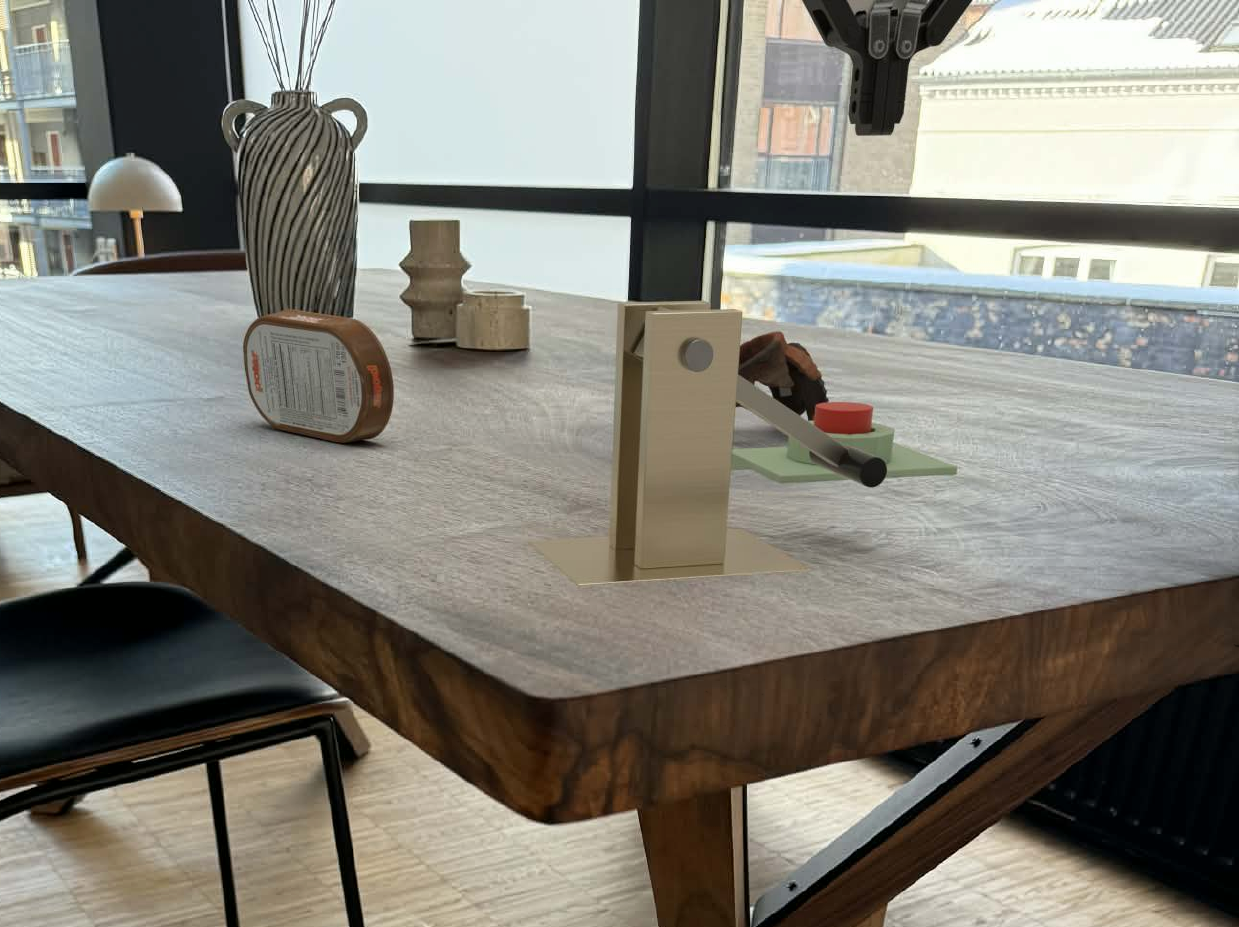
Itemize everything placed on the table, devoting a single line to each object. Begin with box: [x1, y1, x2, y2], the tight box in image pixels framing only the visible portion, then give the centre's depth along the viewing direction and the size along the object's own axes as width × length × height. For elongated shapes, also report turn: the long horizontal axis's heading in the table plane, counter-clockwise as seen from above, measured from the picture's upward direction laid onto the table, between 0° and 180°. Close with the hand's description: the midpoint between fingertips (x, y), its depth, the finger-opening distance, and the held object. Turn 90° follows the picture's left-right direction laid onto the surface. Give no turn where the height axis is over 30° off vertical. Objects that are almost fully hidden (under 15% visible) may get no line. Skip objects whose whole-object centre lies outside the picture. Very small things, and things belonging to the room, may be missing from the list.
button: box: [814, 401, 874, 434], centre depth 96 cm, size 4×4×2 cm
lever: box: [634, 307, 887, 489], centre depth 74 cm, size 13×6×2 cm
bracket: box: [527, 300, 813, 587], centre depth 74 cm, size 12×9×13 cm
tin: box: [242, 308, 395, 444], centre depth 111 cm, size 15×3×8 cm, turn 44°
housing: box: [731, 420, 958, 484], centre depth 97 cm, size 12×9×4 cm
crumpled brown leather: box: [736, 330, 830, 421], centre depth 113 cm, size 12×10×8 cm
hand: (874, 134), depth 89 cm, fingers closed
